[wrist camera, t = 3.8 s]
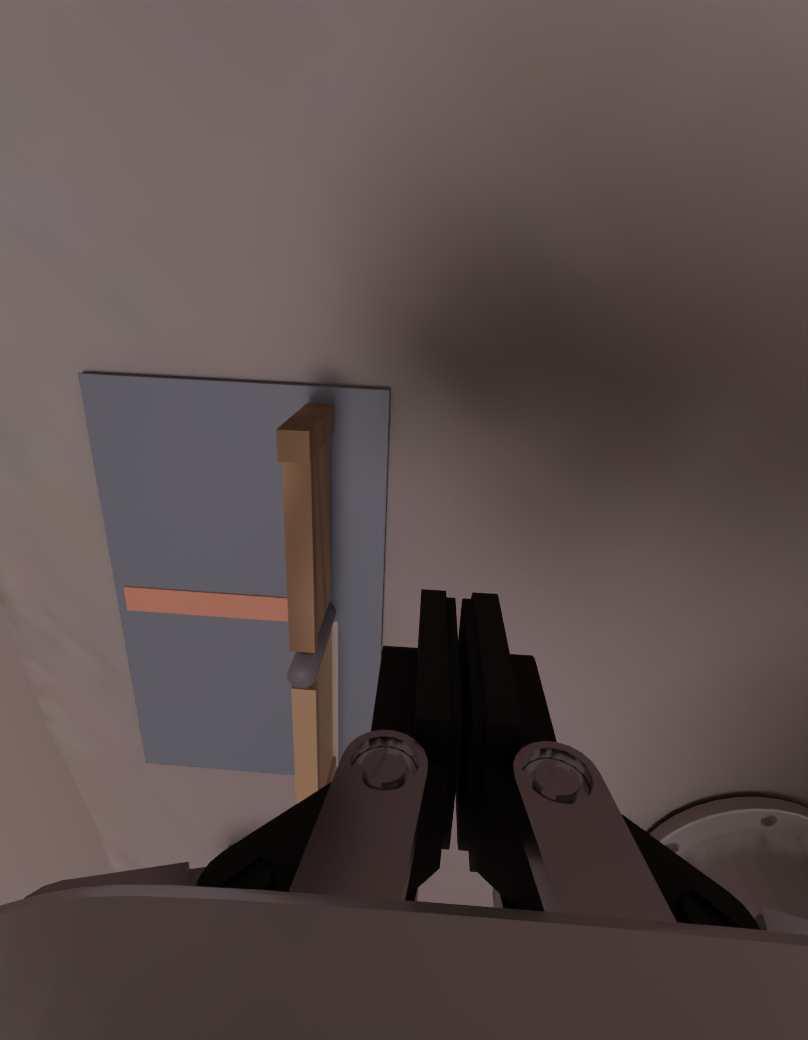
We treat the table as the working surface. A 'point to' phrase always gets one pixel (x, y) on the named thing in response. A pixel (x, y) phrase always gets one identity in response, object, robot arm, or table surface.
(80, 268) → the table surface
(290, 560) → the fence hinged section
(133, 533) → the card
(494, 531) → the table surface
